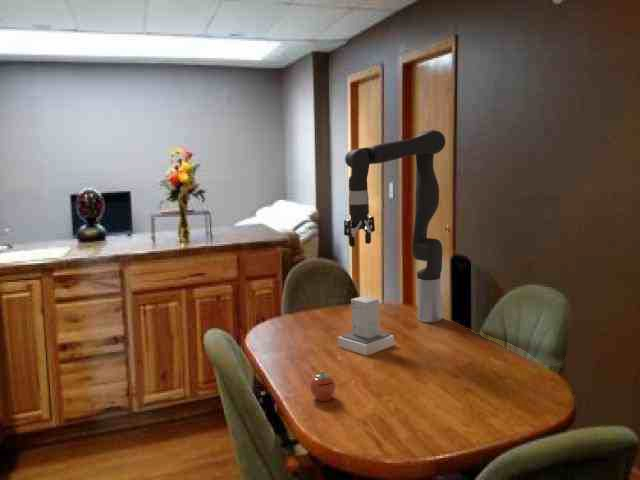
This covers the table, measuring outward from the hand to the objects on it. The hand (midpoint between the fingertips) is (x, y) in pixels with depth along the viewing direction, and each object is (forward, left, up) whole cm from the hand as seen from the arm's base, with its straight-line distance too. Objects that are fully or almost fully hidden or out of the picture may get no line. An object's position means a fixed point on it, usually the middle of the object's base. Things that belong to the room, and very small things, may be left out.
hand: (360, 245), depth 220 cm
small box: (+14, +15, -29) cm, 36 cm away
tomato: (+54, +37, -33) cm, 73 cm away
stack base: (+14, +15, -33) cm, 39 cm away
